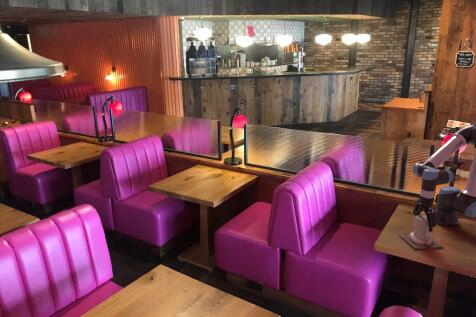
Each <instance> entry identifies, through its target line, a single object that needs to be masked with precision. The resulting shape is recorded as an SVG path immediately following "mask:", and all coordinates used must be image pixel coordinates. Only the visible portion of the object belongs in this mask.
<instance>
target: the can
mask: <svg viewBox="0 0 476 317" xmlns="http://www.w3.org/2000/svg"><path fill="white" fill-rule="evenodd" d="M427 226H428V221H427V217H426V215H425V214H420V215H417V216H416V221H415V226H414V227H413V228H414V229H413V232H414V234H413V236H414V237H415V238H417V239H421V240H429V239H430V238H431V237H426V232H427Z"/></svg>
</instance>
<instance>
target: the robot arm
mask: <svg viewBox="0 0 476 317" xmlns="http://www.w3.org/2000/svg"><path fill="white" fill-rule="evenodd" d="M468 144H473V149H474V150H475V152H474V156H473V159H472V162H471V166H470V169H469V174H468V177H467V180H466V183H465V187H464V189H462V190H461V189H460V188H459V187H456V186H442V187H440V188H439V191H438V193H437V194H438V196H437V203H436V208H433V207H432V206H433V204H434V203H435V197H436V191H437V190H436V189H437V186H440V185H446V184H449V183H450V184H451V182H453V181H454V178H455V177H454V176H455V175H454V174H453V172H452V171H451V170H450V169H443V170H442V169H439V167H440V166H441V165H442V164H443V163H445V162H446V161H447V160H448V159H449V158H451V156H452V155H454V154H455V153H456V152H457V151H458V150H460V148H462V147H465V146H467V145H468ZM412 173H413V175H415V176H418V177H419V178H421V187H420V193H419V197H418V198H419V199H417V200H416V204H415V206H414V208H413V210H412V214H413V215H414V217H413V225H412V226H413V227H415V221H416V216H417V215H421V214H422V212H423V213H424V215H426V217H427V221H428V226H427V232H426V237H431V236H432V233H433V229H434V228H435V227H437V225H440V226H444V227H455V226H457V225H458V224H459V218H458V213H460V214H463V215H465V216H466V217H471V218H476V123H474V124H469V125H466V126H465V125H464V126H463V127H461V128H459V129H458V130H456V131H455V132H454V133H452V135H451V138H450V139H449V140H447V141H446V142H445V143H444V144H443V145H441V146H440V147H439V148H438V149H437V150H436V151H435V152H433V153H432V155H430V156H429V157H428V158H426V159H425V160H424V161H423V162H422V163H421V162H417V163H416V162H415V163H414V164H413V166H412ZM457 212H458V213H457Z"/></svg>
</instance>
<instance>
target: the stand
mask: <svg viewBox="0 0 476 317" xmlns="http://www.w3.org/2000/svg"><path fill="white" fill-rule="evenodd" d="M413 234H414V231H412V232H410V233H402V234H401V233H400V234H399V235H398V236H399V237H400V239H402V240H403V241H404V242H405V243H406V244H407V245H408V246H410V248H412V250H414V251H420V250H421V251H422V250H424V251H425V250H437V249H444V246H443V245H442V244H441V243H439V242H438V241H437V240H435V239H434V238H433V237H432V235H431V238H430V239H429V240H421V239H417V238H415V237H414V236H413Z"/></svg>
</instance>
